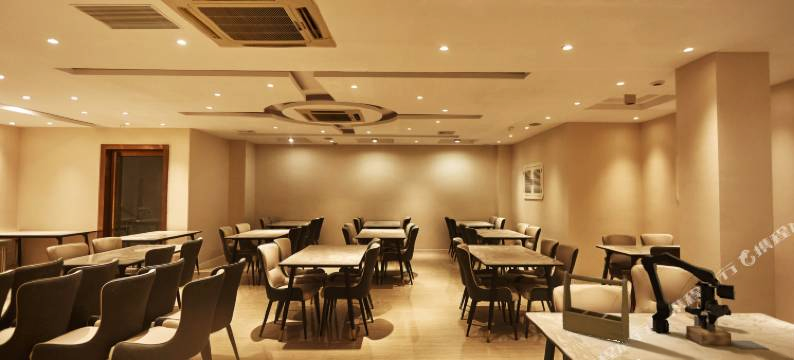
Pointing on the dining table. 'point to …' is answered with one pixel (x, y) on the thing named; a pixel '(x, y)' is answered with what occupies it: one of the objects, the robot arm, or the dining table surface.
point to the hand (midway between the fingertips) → (708, 328)
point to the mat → (747, 345)
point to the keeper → (697, 321)
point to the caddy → (595, 313)
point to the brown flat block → (708, 339)
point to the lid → (708, 330)
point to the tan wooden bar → (692, 316)
